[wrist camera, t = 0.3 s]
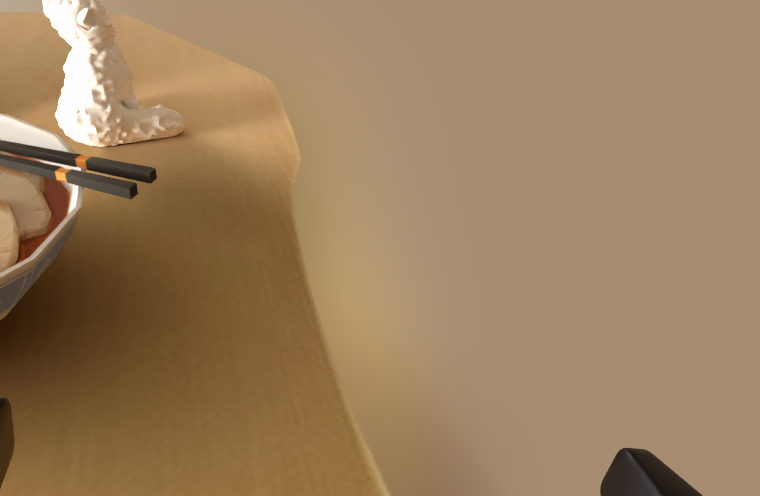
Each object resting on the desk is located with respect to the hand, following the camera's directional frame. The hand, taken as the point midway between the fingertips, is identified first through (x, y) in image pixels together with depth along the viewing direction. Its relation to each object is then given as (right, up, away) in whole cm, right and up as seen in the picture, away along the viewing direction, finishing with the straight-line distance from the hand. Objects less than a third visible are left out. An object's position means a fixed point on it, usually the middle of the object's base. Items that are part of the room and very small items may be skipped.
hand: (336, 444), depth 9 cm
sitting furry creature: (-22, +13, +45) cm, 52 cm away
